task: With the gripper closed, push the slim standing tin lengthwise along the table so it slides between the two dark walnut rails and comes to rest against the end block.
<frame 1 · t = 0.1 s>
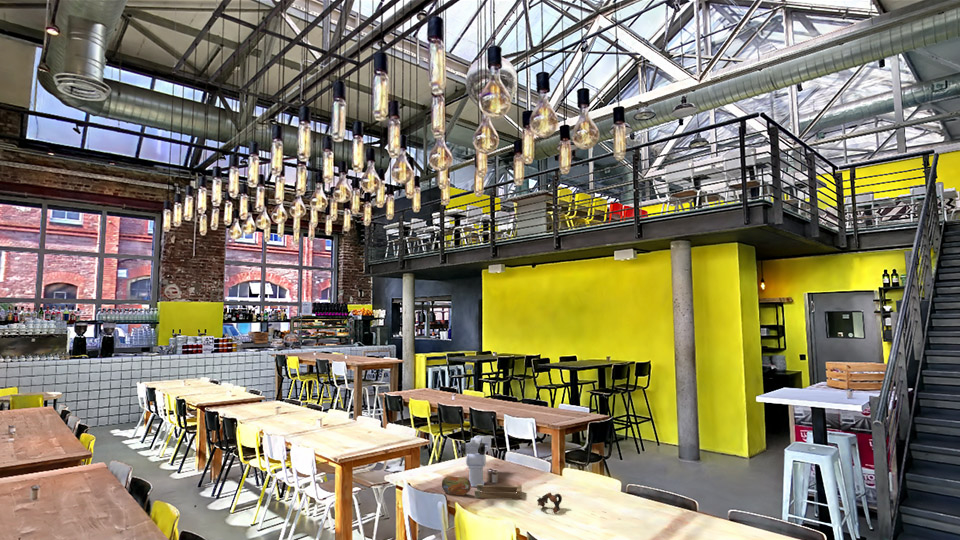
hand: (470, 450, 258), 22 cm above the table, tool horizontal, fingers open, 7 cm apart
brown figurine: (551, 509, 237), on the table
walnut rails: (496, 494, 258), on the table
tin: (456, 494, 260), on the table
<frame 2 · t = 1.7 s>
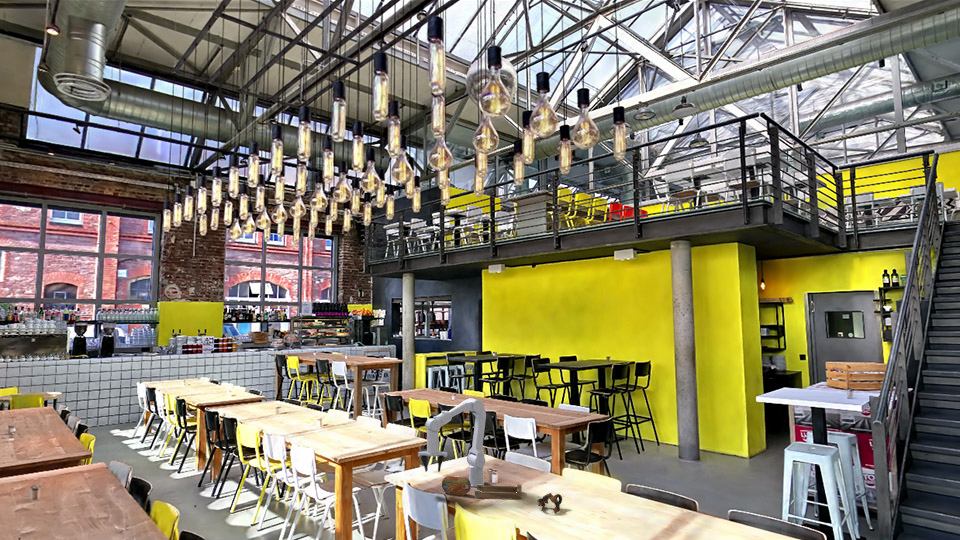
hand: (432, 471, 263), 10 cm above the table, tool pointing down, fingers open, 6 cm apart
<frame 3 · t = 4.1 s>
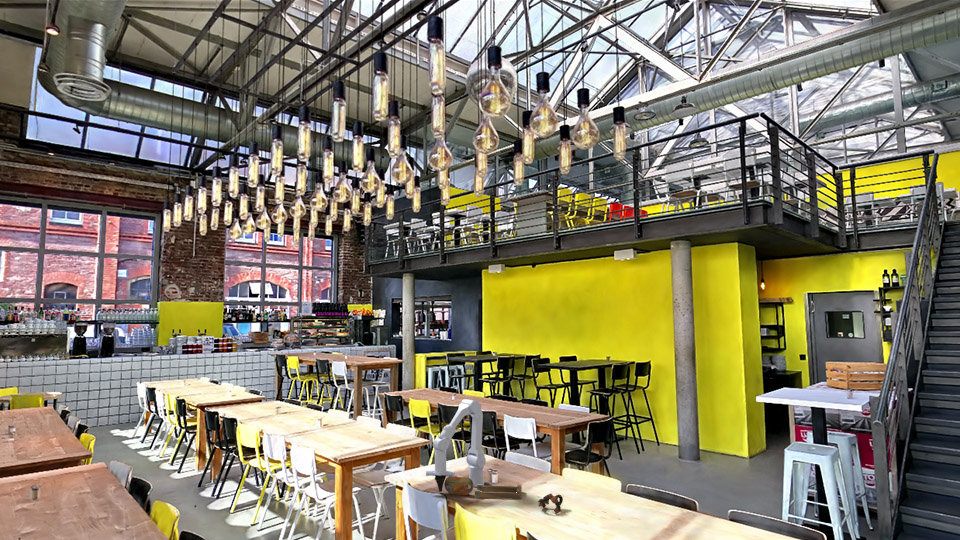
hand: (440, 491, 261), 1 cm above the table, tool pointing down, fingers closed
tin: (459, 494, 260), on the table, touching gripper
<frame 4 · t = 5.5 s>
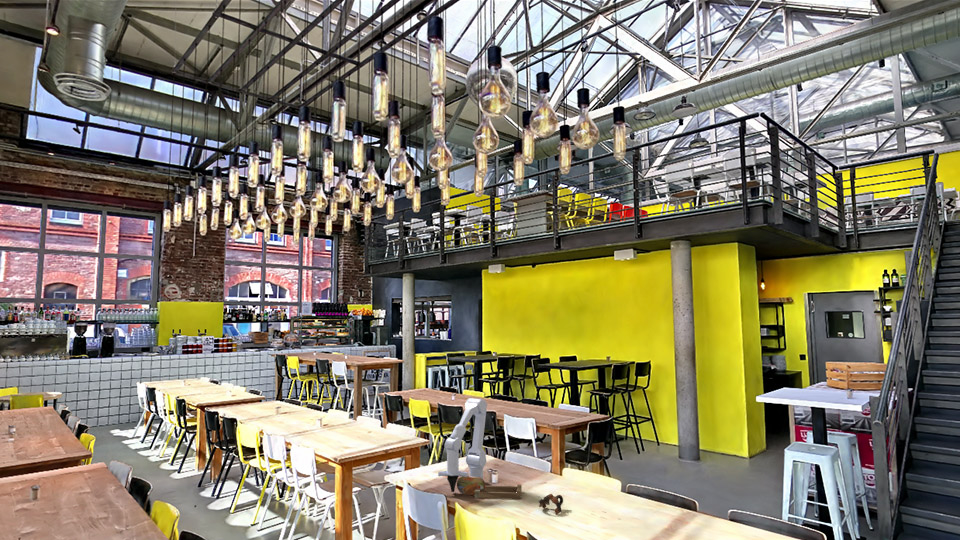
hand: (452, 491, 261), 1 cm above the table, tool pointing down, fingers closed
tin: (471, 494, 259), on the table, touching gripper
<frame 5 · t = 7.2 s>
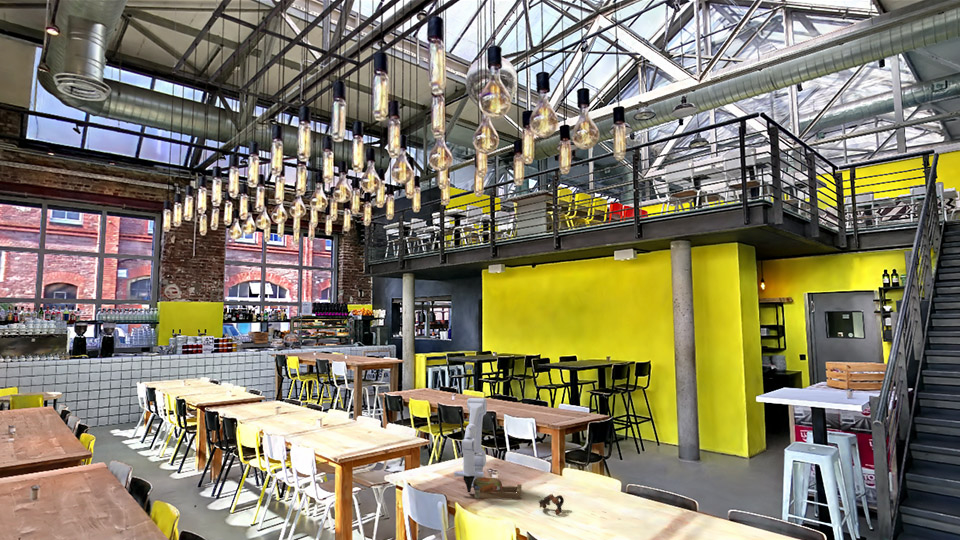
hand: (469, 491, 260), 1 cm above the table, tool pointing down, fingers closed
tin: (487, 495, 258), resting in walnut rails, touching gripper
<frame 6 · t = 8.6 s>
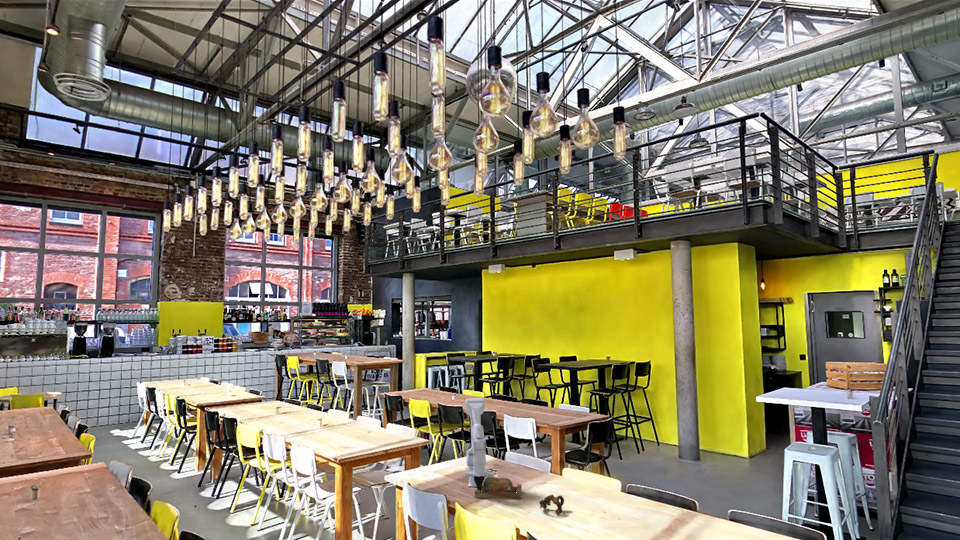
hand: (479, 492, 259), 1 cm above the table, tool pointing down, fingers closed
tin: (498, 495, 257), resting in walnut rails, touching gripper
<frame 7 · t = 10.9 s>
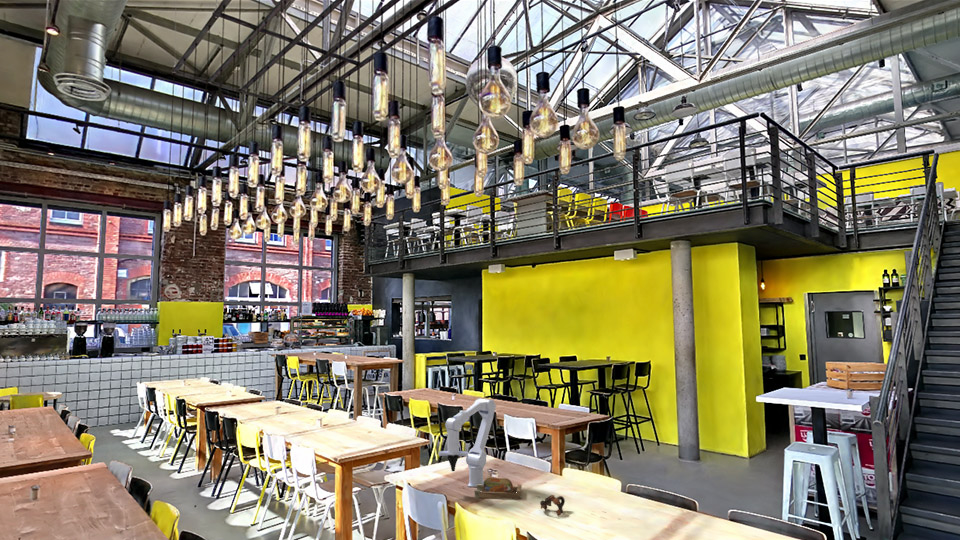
hand: (453, 470, 263), 10 cm above the table, tool pointing down, fingers closed
tin: (498, 495, 257), resting in walnut rails
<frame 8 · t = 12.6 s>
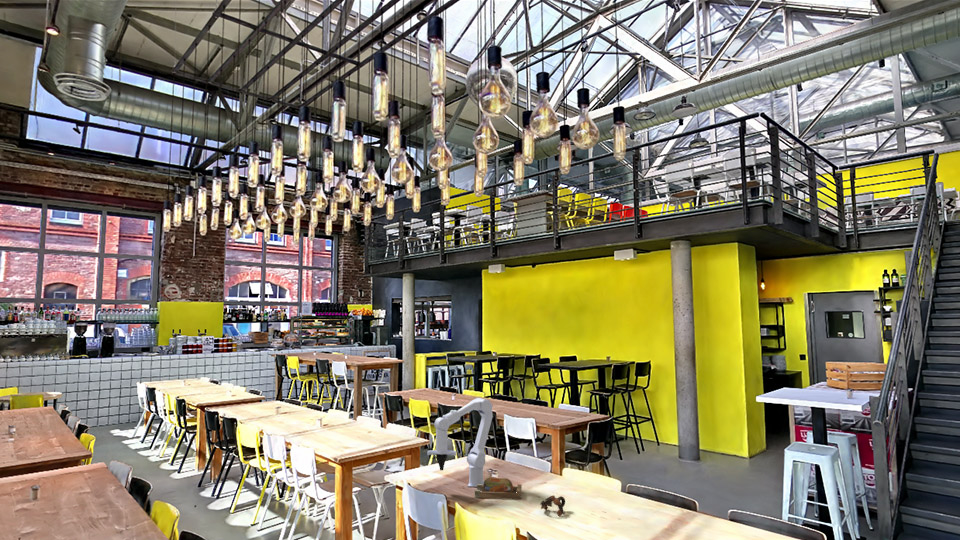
hand: (441, 469, 265), 10 cm above the table, tool pointing down, fingers closed
at the end: tin inside the target area on the walnut rails (0.5 cm from its centre), point 0.0 cm above the walnut rails's base; tin tilted 0°; tin moved 20.8 cm from its start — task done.
